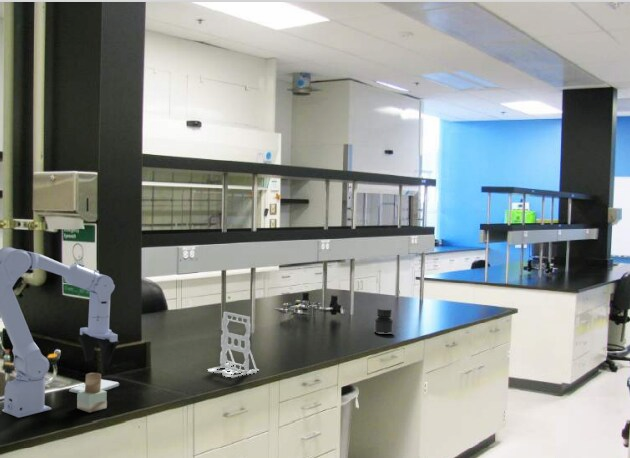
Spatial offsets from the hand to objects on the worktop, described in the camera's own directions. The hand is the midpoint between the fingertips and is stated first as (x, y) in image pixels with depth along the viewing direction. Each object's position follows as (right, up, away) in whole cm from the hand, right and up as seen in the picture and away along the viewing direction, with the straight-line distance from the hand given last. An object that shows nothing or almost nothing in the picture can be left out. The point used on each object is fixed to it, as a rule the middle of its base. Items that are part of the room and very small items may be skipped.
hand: (97, 362), depth 182 cm
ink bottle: (+96, -12, +122) cm, 156 cm away
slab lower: (+1, -11, -8) cm, 14 cm away
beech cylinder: (+1, -6, -8) cm, 10 cm away
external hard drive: (-4, -11, +10) cm, 16 cm away
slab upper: (+1, -9, -8) cm, 12 cm away
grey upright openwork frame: (+34, -11, +39) cm, 53 cm away
